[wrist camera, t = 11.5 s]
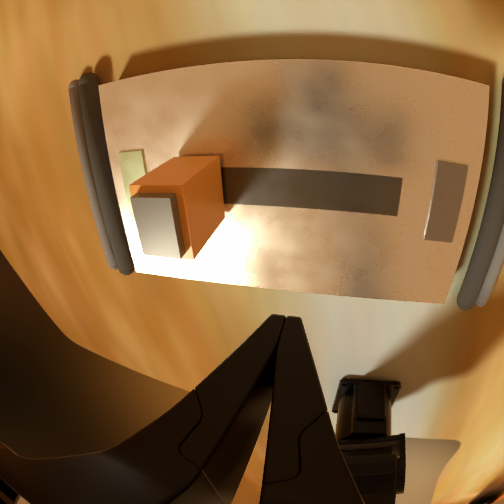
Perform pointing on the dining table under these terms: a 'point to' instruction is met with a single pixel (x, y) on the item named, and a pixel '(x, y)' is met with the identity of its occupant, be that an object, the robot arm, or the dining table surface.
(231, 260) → the faceplate
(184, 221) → the block
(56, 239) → the dining table surface
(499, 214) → the cord
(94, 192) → the cord
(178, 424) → the robot arm
